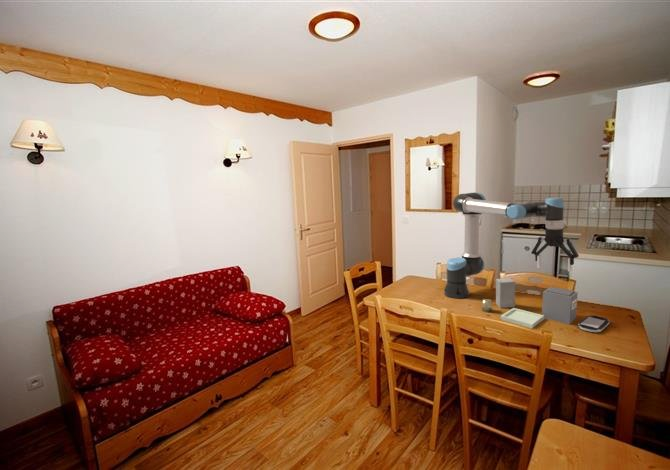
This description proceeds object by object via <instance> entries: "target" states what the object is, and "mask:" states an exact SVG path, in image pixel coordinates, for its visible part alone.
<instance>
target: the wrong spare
mask: <svg viewBox="0 0 670 470" xmlns="http://www.w3.org/2000/svg"><path fill="white" fill-rule="evenodd" d="M481 311H482V312H484V313H492V311H493V300H492V299H489V298H482V299H481Z"/></svg>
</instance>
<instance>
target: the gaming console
mask: <svg viewBox="0 0 670 470" xmlns="http://www.w3.org/2000/svg"><path fill="white" fill-rule="evenodd" d="M608 325H610V320H609V318H606V317H602V316H599V315H598V316H597V315H589V316H588V315H587V316H586V317H585V318H583V319H582V320H581V321H580V322H578V324H577V328H578V329H579V330H581V331H584V332H587V333H590V332H591V333H592V334H597V333H601V332H603V330H605V329H606V328H607V327H608Z"/></svg>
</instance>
